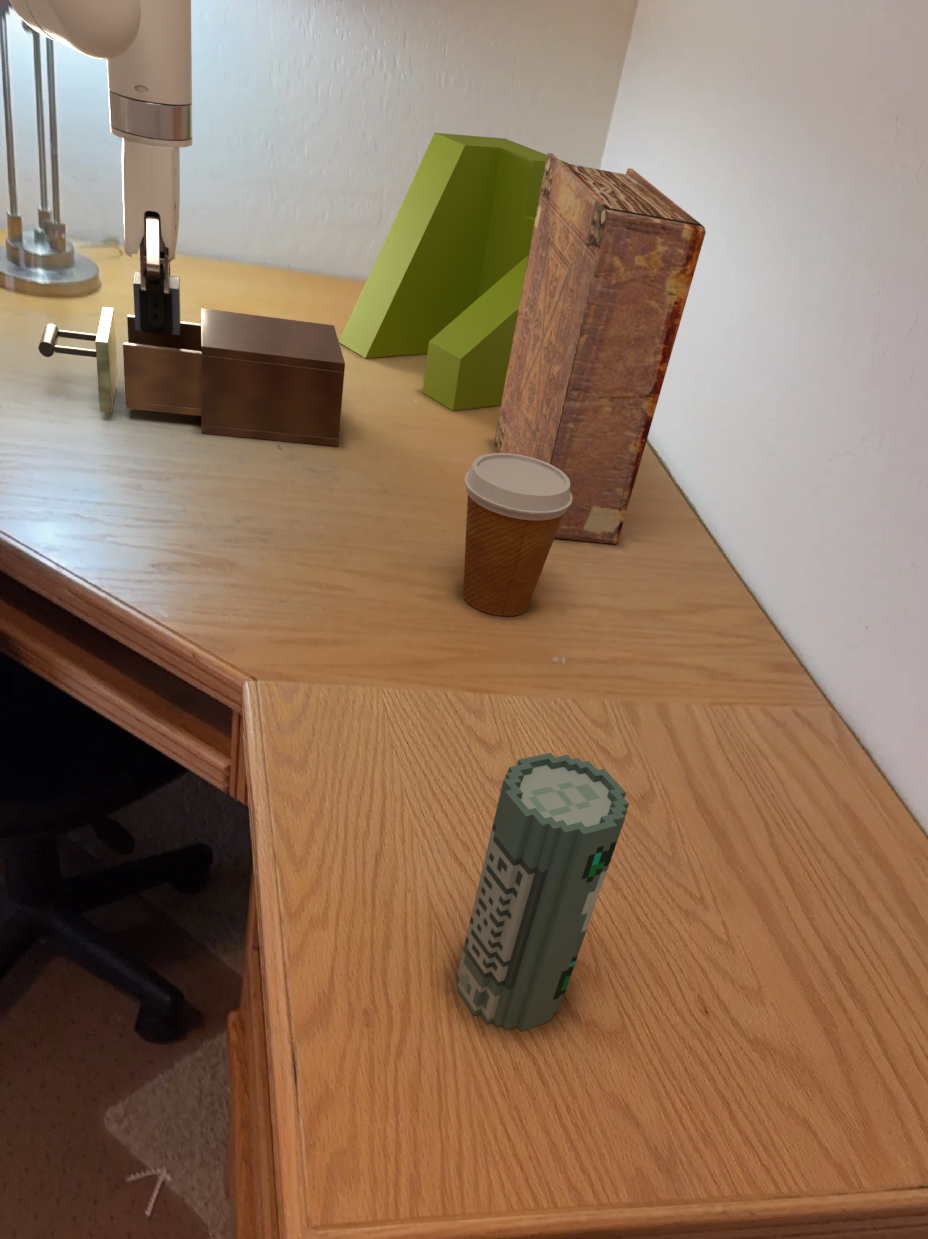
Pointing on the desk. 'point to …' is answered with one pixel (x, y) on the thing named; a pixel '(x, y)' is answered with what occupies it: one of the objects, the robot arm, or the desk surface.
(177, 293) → the block
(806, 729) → the desk surface
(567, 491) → the disposable coffee cup
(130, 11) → the robot arm
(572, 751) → the desk surface
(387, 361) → the desk surface
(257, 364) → the cabinet
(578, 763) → the can
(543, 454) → the book
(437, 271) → the book holder
